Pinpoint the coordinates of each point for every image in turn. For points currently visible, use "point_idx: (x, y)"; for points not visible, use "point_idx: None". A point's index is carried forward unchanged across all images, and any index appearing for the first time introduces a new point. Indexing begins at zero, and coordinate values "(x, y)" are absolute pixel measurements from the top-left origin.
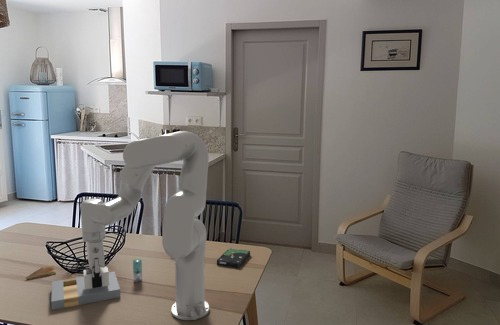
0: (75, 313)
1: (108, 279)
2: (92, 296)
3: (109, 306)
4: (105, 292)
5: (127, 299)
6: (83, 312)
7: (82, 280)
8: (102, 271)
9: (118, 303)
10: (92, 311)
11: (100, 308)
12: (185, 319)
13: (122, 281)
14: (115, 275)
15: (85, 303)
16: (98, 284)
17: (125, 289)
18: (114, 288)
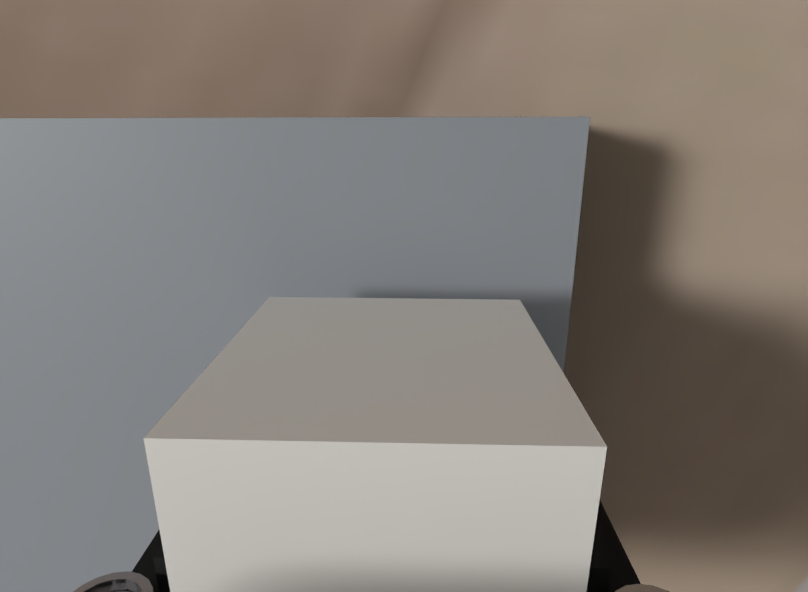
0: (672, 575)
1: (545, 352)
2: None
3: (724, 279)
4: (563, 336)
5: (670, 34)
6: (695, 518)
7: (94, 560)
8: (492, 587)
9: (712, 169)
10: (727, 447)
11: (711, 372)
12: None
13: (69, 21)
14: (12, 123)
15: None
16: None
17: (351, 15)
18: (522, 204)
